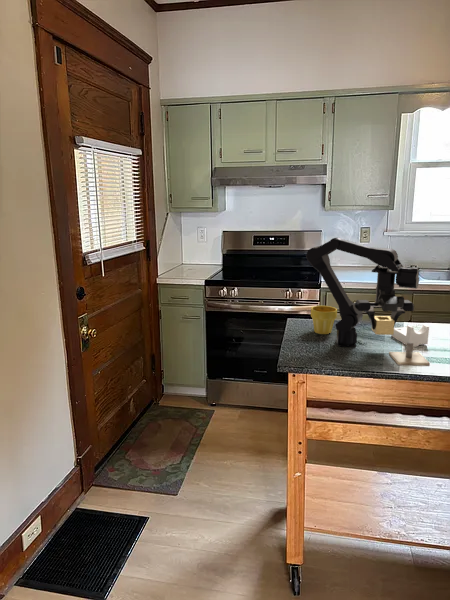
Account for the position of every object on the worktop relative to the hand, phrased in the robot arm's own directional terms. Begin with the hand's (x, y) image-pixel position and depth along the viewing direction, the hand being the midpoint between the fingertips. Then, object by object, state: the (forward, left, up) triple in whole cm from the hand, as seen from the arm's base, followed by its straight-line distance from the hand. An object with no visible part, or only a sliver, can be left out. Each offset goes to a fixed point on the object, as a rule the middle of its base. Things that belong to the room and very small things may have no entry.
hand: (382, 329), depth 159 cm
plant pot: (-17, +21, -8) cm, 28 cm away
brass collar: (0, 0, -1) cm, 1 cm away
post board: (+7, -9, -8) cm, 14 cm away
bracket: (+14, +11, -8) cm, 20 cm away
